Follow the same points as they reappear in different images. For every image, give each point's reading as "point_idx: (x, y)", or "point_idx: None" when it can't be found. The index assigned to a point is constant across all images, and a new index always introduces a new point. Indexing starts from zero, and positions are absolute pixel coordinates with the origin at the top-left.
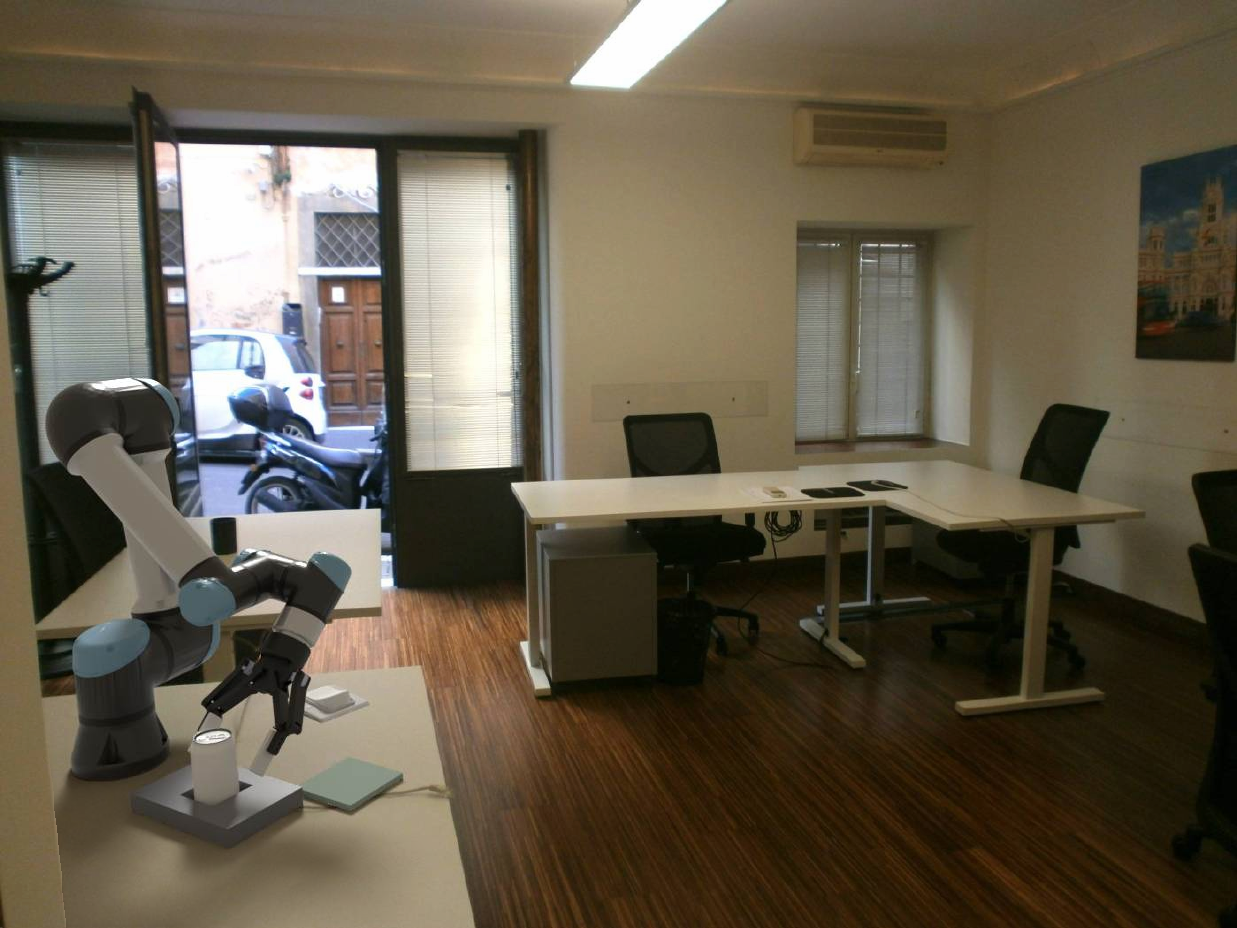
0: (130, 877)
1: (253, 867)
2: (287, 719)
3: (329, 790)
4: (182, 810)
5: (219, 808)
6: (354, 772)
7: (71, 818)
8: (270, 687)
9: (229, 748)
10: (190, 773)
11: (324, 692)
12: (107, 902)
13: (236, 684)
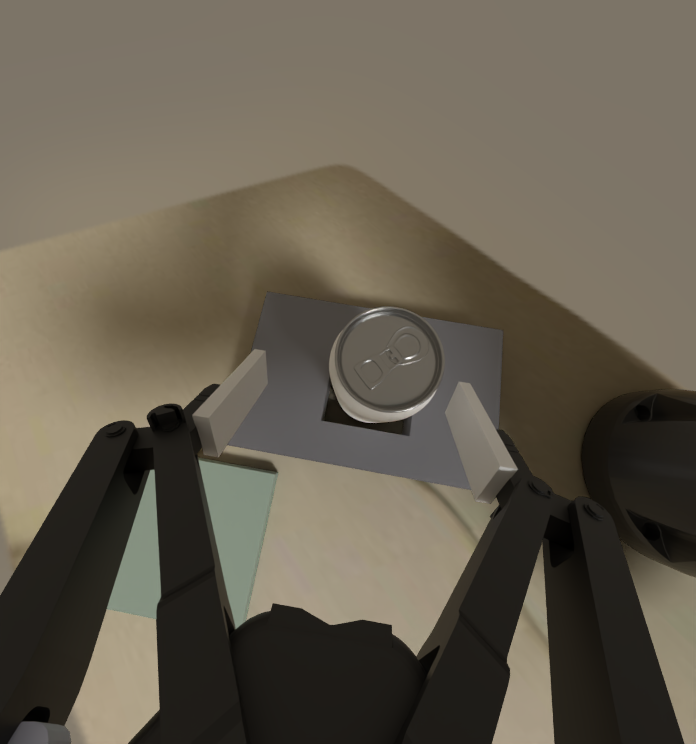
0: (350, 225)
1: (217, 283)
2: (122, 450)
3: (206, 485)
4: None
5: (322, 335)
6: None
7: (545, 300)
8: (215, 617)
9: (329, 362)
10: None
11: None
12: (337, 186)
13: (568, 685)
